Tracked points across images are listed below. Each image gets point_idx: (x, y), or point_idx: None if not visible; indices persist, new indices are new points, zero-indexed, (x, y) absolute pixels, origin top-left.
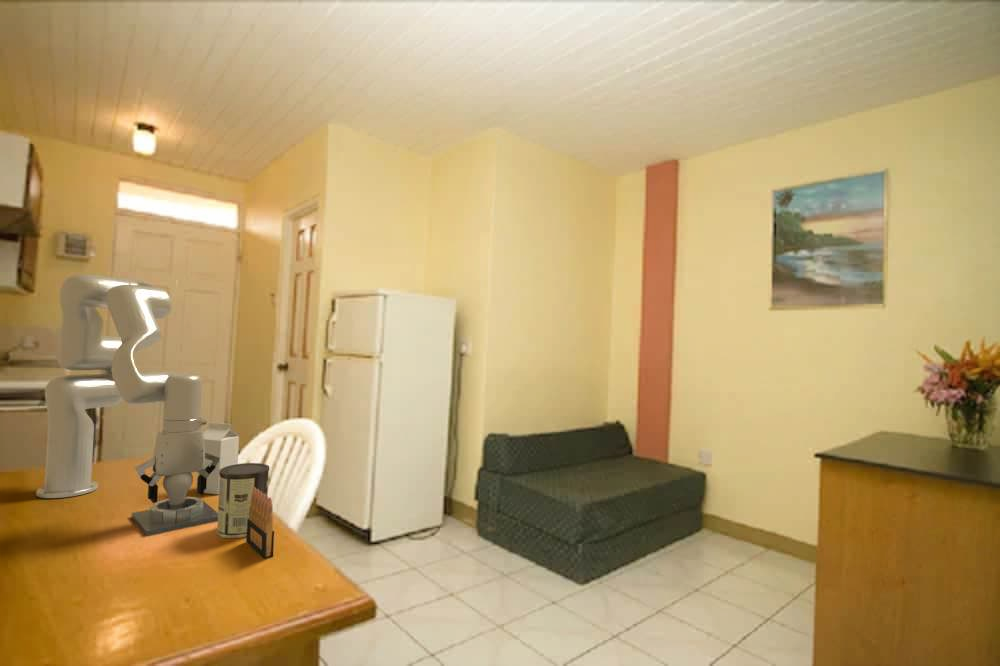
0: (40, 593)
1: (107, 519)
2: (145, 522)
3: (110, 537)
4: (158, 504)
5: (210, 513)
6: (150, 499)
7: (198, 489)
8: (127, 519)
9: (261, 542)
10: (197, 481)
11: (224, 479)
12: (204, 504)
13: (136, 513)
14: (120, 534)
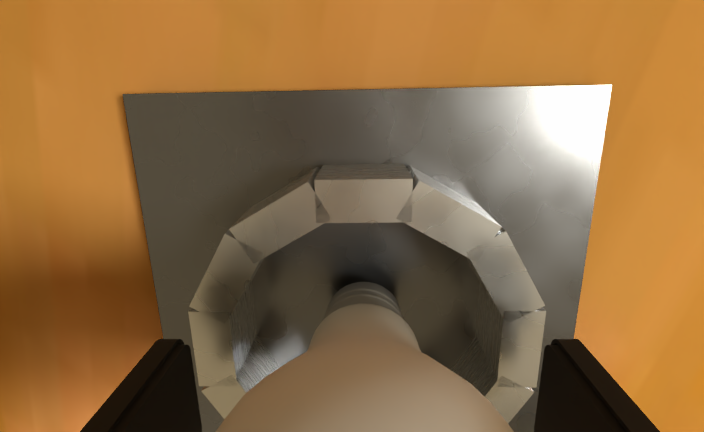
0: None
1: (3, 41)
2: (191, 342)
3: (51, 372)
4: (248, 282)
5: (524, 405)
6: (161, 339)
7: (554, 406)
8: (118, 126)
9: None
10: (602, 423)
11: None
12: (574, 211)
13: (151, 130)
14: (91, 360)
